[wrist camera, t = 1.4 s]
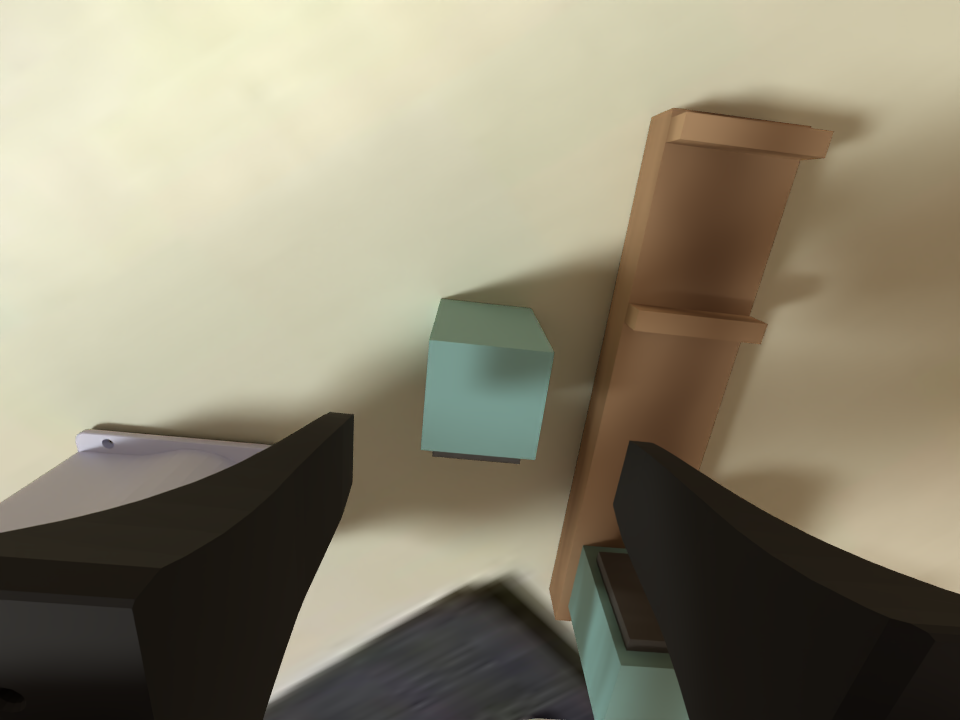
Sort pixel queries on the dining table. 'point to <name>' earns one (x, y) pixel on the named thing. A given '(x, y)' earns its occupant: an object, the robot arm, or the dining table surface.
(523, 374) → the block
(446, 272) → the dining table surface
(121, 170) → the dining table surface
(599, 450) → the rail
